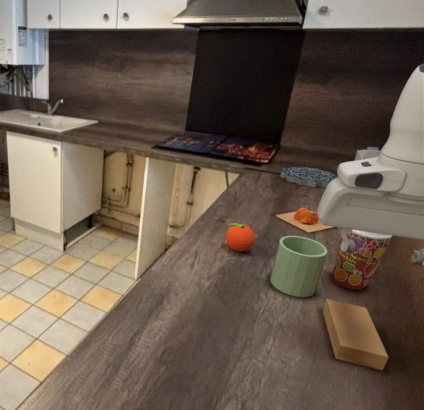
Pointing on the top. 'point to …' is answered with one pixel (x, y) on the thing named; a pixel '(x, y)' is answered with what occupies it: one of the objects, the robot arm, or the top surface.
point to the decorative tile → (308, 176)
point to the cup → (298, 265)
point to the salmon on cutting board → (304, 220)
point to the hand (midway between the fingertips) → (380, 257)
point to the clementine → (240, 237)
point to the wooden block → (354, 335)
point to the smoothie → (359, 259)
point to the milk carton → (367, 153)
